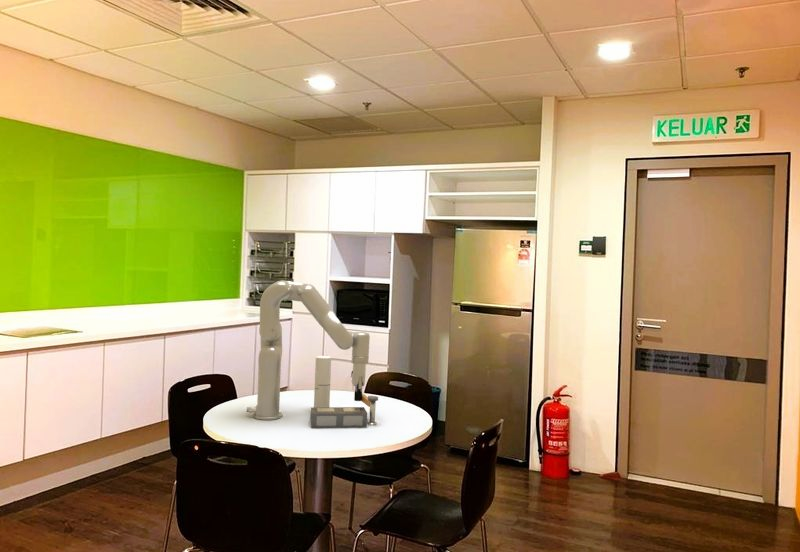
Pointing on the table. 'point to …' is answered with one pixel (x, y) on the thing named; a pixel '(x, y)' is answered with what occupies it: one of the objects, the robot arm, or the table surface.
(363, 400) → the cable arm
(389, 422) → the table surface
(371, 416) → the post
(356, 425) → the block
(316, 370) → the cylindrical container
